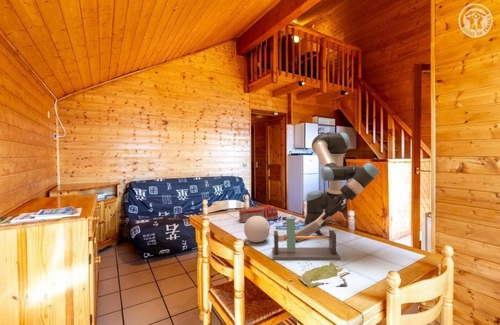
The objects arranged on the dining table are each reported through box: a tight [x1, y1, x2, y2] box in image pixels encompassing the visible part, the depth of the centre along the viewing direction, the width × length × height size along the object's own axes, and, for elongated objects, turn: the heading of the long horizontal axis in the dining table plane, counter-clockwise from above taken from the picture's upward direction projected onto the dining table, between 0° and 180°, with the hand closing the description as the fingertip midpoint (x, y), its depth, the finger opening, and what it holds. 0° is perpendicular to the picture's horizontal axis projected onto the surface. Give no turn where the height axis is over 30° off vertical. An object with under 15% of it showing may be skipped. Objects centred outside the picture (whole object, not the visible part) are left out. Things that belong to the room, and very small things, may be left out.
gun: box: [295, 220, 325, 243], centre depth 146 cm, size 2×25×10 cm, turn 121°
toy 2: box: [243, 216, 271, 243], centre depth 143 cm, size 15×15×15 cm
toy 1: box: [238, 205, 279, 223], centre depth 189 cm, size 10×30×10 cm, turn 103°
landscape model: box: [298, 261, 351, 289], centre depth 99 cm, size 24×15×2 cm, turn 123°
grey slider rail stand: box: [271, 229, 341, 261], centre depth 122 cm, size 32×12×12 cm, turn 85°
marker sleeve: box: [285, 216, 296, 250], centre depth 123 cm, size 4×3×16 cm
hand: (317, 223), depth 122 cm, fingers closed
